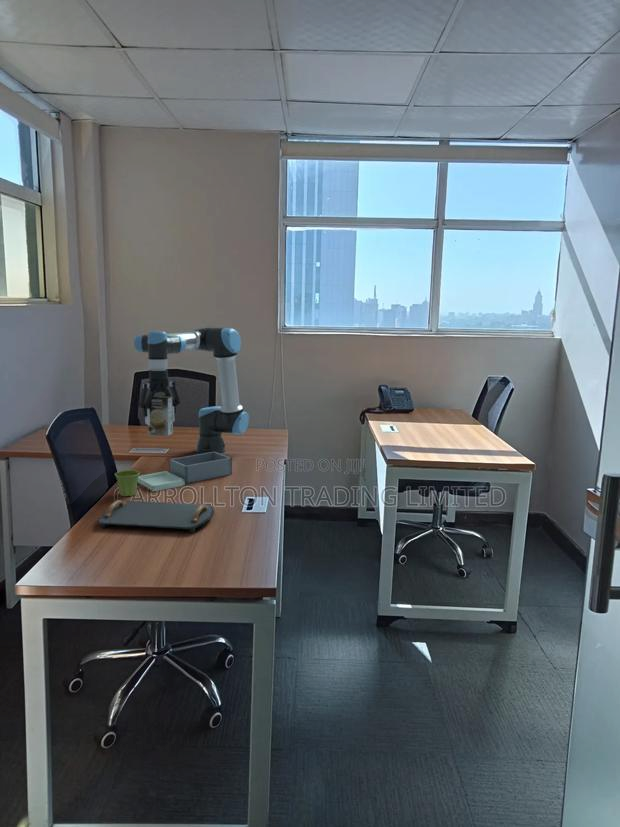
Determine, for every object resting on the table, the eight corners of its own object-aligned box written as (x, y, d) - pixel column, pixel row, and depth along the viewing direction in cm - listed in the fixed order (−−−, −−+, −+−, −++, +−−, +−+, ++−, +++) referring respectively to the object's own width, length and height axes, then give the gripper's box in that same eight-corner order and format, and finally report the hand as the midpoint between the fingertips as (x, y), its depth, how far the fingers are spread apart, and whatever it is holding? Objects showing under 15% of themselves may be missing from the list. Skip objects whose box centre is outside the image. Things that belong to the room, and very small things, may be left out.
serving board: (220, 512, 208) (220, 496, 207) (201, 537, 186) (200, 519, 184) (120, 507, 213) (119, 491, 212) (89, 530, 190) (88, 512, 189)
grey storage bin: (214, 467, 267) (214, 451, 265) (232, 474, 255) (231, 457, 254) (169, 475, 252) (169, 459, 251) (185, 483, 241) (185, 466, 239)
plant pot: (127, 489, 233) (126, 468, 231) (145, 492, 228) (144, 471, 227) (110, 495, 224) (109, 474, 223) (128, 499, 220) (127, 477, 219)
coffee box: (147, 435, 234) (145, 396, 231) (152, 432, 241) (151, 394, 238) (168, 436, 233) (167, 397, 231) (173, 432, 240) (172, 395, 237)
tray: (166, 476, 251) (166, 470, 251) (184, 485, 238) (184, 479, 238) (136, 482, 242) (135, 476, 242) (153, 491, 229) (153, 486, 229)
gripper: (179, 367, 242) (180, 418, 246) (127, 370, 228) (130, 424, 232) (187, 368, 237) (189, 421, 241) (135, 371, 222) (137, 427, 226)
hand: (160, 422), depth 236 cm, fingers closed on coffee box, 10 cm apart
